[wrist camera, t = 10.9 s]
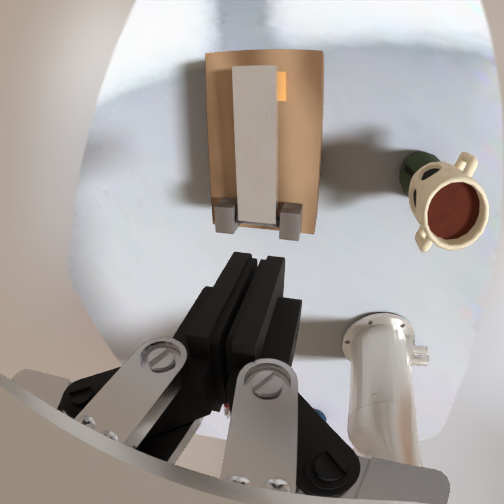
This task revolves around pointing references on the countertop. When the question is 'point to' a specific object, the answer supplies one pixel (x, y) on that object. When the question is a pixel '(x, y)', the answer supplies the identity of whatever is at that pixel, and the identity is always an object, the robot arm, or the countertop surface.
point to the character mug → (445, 200)
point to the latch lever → (256, 143)
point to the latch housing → (289, 136)
